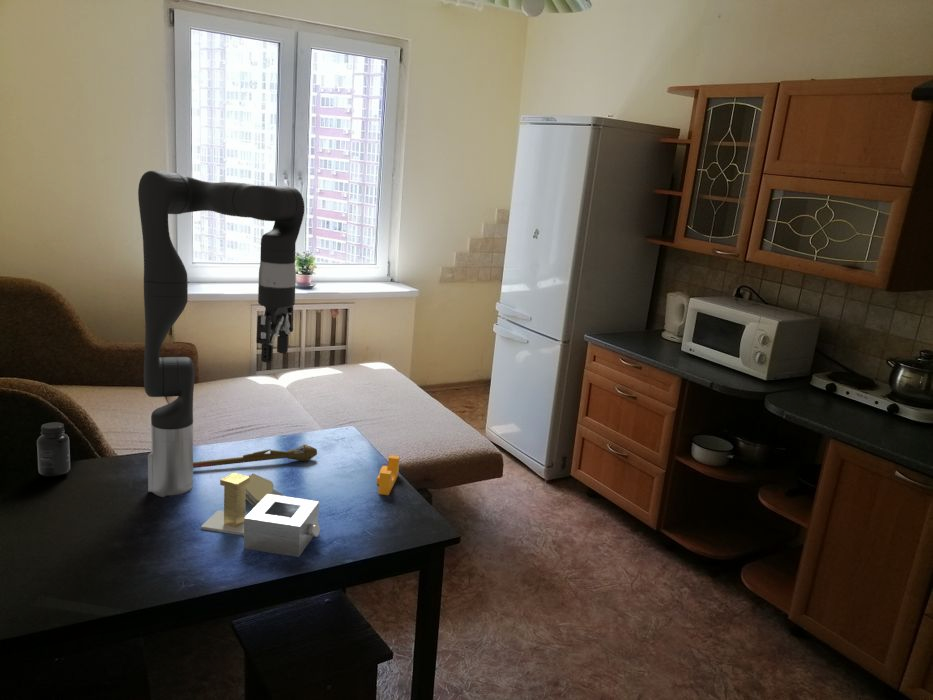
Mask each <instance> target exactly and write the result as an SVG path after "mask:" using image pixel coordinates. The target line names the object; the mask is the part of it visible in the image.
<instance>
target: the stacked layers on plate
mask: <svg viewBox="0 0 933 700" xmlns="http://www.w3.org/2000/svg"><path fill="white" fill-rule="evenodd" d="M248 477H250V482H249V483H247V484H246V500H245V501H248V502H249V504H250V505H251V506H253V507H255V506H256V505H257V504H258V503H259V502H260V501H261V500H262V499H263V498H264V497H265V496H266V495H267V494H272V495H279V496H285V495H284V494H282V493H281V492H279V491H277V490H276V489H275V488H274V487H275V486H274V483H273V482H272V480H269V479H267V478H265V477H263V476H260V475H257V474H255V473H252V474H249V475H248Z"/></svg>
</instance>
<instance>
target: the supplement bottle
mask: <svg viewBox="0 0 933 700" xmlns="http://www.w3.org/2000/svg"><path fill="white" fill-rule="evenodd" d="M64 424H65V423H62V422H57V421H55V422H54V421H53V422H48V423H44V424H42V425H41V426H40V430H41V431H40V434H41V435H40V436H39V437H38V438H37V439H36V447H37V448H36V449H37V451H36V452H37V469H38V473H39V474H40V475H42V476H45V477H57V476H62V475H65V474H67V473H68V472H69V471H70V470H71V454H70V437H69V436H68V434H66V433H65V425H64Z"/></svg>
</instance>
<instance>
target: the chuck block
mask: <svg viewBox="0 0 933 700" xmlns="http://www.w3.org/2000/svg"><path fill="white" fill-rule="evenodd" d="M319 512H320V501H318V500H311V499H306V498H299V497H292V496H285V495H284V496H279V495H272V494H267V495H266V496H265V497H264V498H263V499H262V500H261V501H260V502H259V503H258V504H257V505H256V506H253V508H252V509H251V510H250V511H249V512H248V513H247V514H246V515H247V516H246V517H245V518H244V536H243V550H249V551H250V550H251V551H258V552H263V553H271V554H277V555H283V556H290V557H295V558H296V557H297V558H299V557H300V556H301V555H302V553H303V552H304V550H305V549H306V548H307V546H308V545H309V544H310V542H311V541H312V539H313V538H314V537H317V538H318V537H319V535H320V532H321V526H320V525H319Z"/></svg>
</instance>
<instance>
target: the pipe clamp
mask: <svg viewBox="0 0 933 700" xmlns="http://www.w3.org/2000/svg"><path fill="white" fill-rule="evenodd" d="M400 459H401V458H400V456H399V455H392V454H390V455H389V456H388V460H387V465H382V466H381V468H380V470H379V471H378V472H379V473H378V476H377V477H376V485H378V495H382V496H383V495H385V496H389V495H390V493H391V491H392V489H393V487H394V485H395V483H396V481H397V479H398V477H399V472H400V471H399V470H400Z"/></svg>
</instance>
